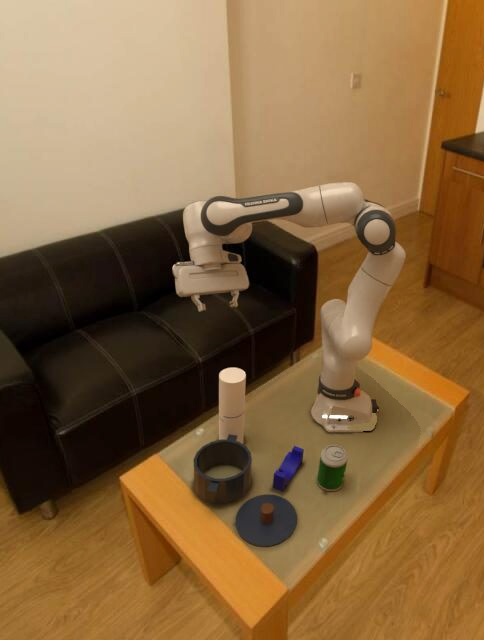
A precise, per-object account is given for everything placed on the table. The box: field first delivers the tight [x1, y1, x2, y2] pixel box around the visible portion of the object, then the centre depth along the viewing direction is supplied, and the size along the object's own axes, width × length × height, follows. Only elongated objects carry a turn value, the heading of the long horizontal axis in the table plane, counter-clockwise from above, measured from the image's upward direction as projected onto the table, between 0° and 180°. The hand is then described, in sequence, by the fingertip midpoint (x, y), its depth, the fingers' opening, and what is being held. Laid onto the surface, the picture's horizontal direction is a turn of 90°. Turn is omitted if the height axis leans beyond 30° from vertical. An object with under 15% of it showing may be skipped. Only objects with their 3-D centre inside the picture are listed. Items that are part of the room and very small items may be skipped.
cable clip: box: [272, 445, 305, 493], centre depth 139 cm, size 12×4×6 cm, turn 160°
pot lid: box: [235, 493, 298, 548], centre depth 126 cm, size 15×15×5 cm
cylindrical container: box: [218, 367, 247, 445], centre depth 143 cm, size 7×7×25 cm
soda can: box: [316, 444, 349, 492], centre depth 138 cm, size 8×8×12 cm
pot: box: [193, 434, 253, 506], centre depth 132 cm, size 15×20×10 cm
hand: (218, 309), depth 136 cm, fingers open, 8 cm apart
